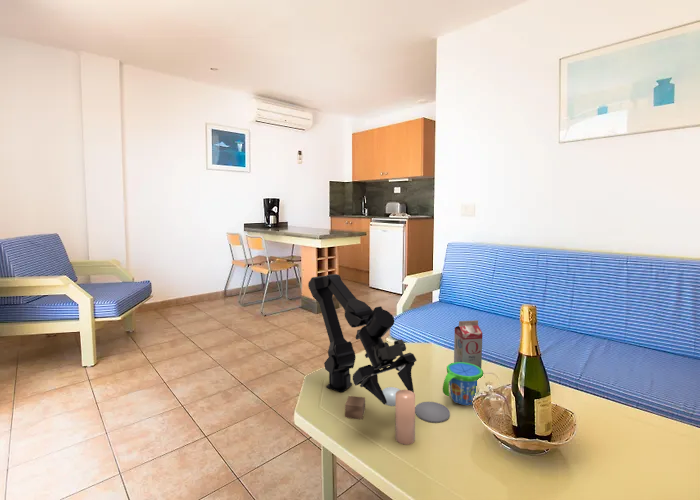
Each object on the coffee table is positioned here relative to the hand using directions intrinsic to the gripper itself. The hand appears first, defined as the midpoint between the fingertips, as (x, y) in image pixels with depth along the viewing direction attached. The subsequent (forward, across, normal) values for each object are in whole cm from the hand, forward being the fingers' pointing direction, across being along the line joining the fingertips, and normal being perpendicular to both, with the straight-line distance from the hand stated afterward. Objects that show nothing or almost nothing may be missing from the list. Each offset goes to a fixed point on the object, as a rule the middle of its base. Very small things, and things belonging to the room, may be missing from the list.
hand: (399, 398), depth 94 cm
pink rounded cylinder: (+8, 0, +6) cm, 10 cm away
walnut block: (-3, -4, +17) cm, 18 cm away
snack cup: (+6, +28, +8) cm, 30 cm away
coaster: (+5, +14, +9) cm, 18 cm away
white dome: (-3, +9, +17) cm, 19 cm away
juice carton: (+1, +37, +13) cm, 39 cm away
